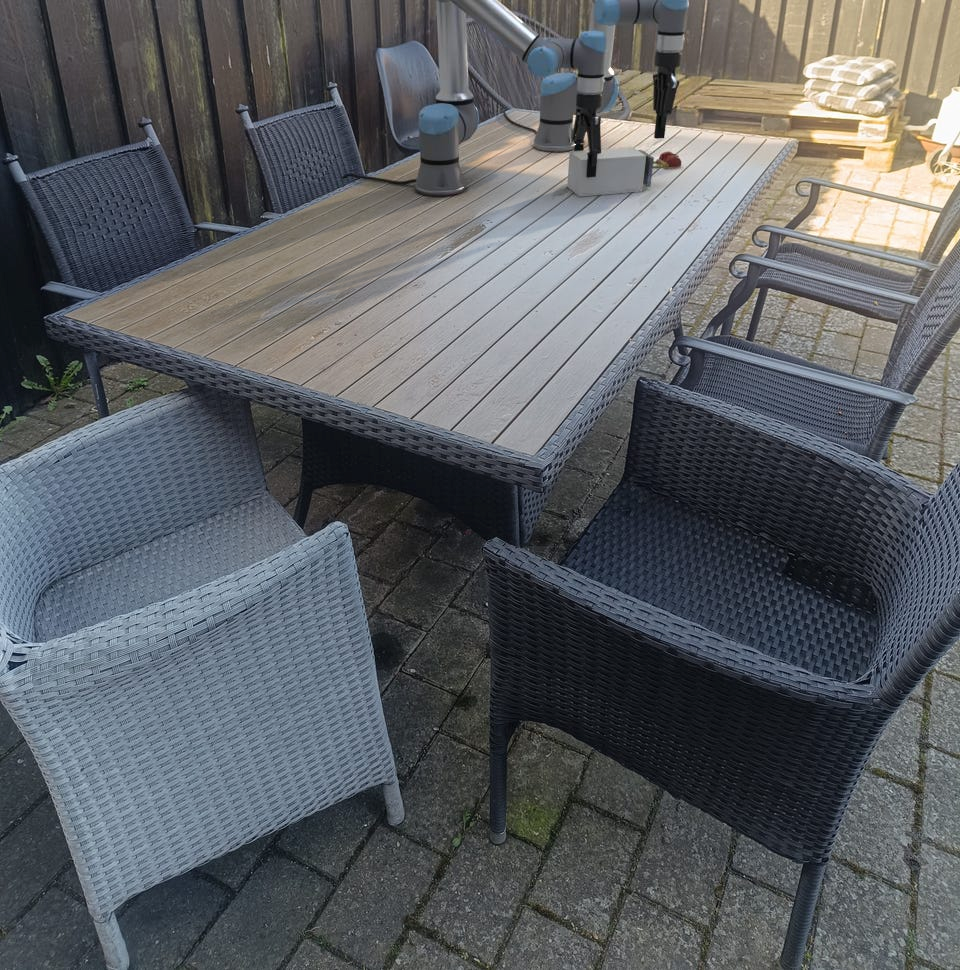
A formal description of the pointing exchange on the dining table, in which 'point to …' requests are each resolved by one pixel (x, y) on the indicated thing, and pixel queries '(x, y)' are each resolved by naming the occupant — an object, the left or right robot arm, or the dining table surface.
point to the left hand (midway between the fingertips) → (584, 171)
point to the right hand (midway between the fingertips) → (659, 137)
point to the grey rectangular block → (607, 172)
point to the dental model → (670, 159)
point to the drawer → (651, 168)
